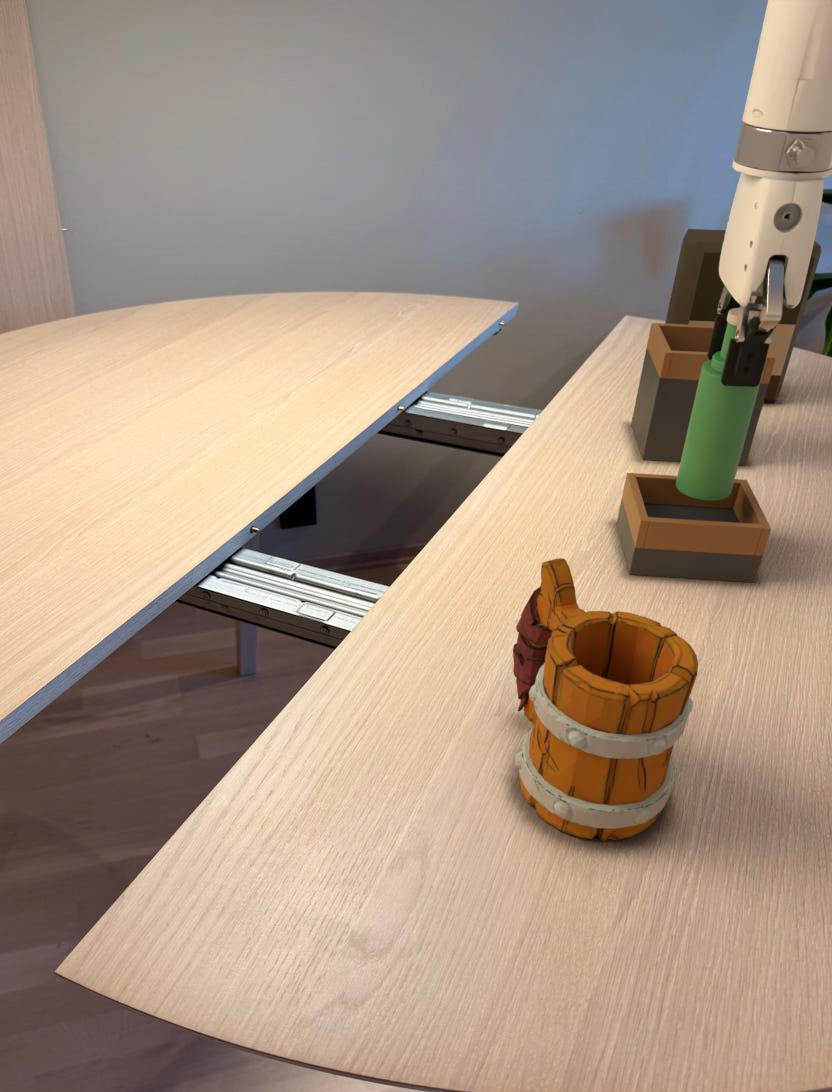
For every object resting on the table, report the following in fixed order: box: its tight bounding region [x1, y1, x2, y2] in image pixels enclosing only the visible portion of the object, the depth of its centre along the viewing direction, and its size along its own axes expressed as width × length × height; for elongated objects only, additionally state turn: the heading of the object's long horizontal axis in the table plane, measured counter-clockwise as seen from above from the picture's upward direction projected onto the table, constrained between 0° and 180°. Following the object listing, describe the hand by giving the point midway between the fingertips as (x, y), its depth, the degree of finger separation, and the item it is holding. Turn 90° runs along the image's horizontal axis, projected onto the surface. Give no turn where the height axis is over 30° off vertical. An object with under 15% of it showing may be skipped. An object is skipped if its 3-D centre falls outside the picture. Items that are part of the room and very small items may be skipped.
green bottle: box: [676, 308, 763, 501], centre depth 90 cm, size 5×5×17 cm
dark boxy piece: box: [664, 228, 822, 403], centre depth 126 cm, size 8×16×25 cm, turn 87°
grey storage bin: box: [630, 322, 776, 466], centre depth 116 cm, size 12×10×13 cm
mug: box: [512, 557, 699, 842], centre depth 69 cm, size 11×16×15 cm, turn 24°
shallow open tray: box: [616, 472, 772, 583], centre depth 97 cm, size 12×10×6 cm
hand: (732, 370), depth 88 cm, fingers closed on green bottle, 5 cm apart
